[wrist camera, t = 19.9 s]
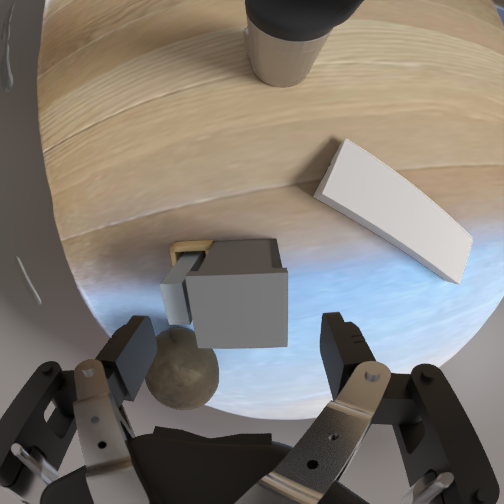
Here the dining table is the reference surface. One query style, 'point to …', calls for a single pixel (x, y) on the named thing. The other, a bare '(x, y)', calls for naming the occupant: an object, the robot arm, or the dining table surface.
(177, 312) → the slate door
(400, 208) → the decorative molding
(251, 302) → the charcoal cabinet
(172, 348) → the dark brown round piece
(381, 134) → the dining table surface
